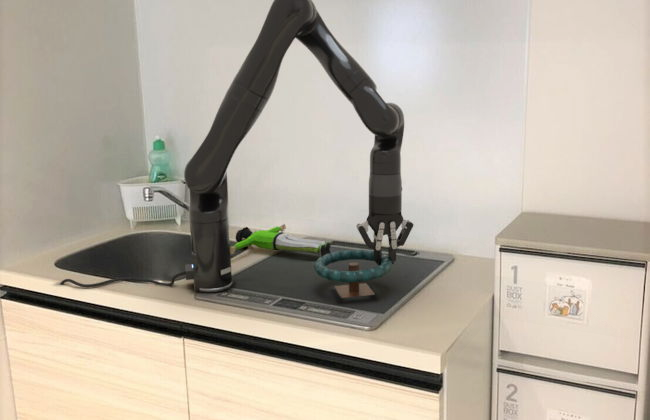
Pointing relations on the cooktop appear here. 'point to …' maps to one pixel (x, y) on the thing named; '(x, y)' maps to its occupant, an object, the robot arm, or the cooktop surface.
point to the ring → (351, 275)
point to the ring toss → (354, 286)
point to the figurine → (278, 241)
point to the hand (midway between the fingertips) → (384, 263)
